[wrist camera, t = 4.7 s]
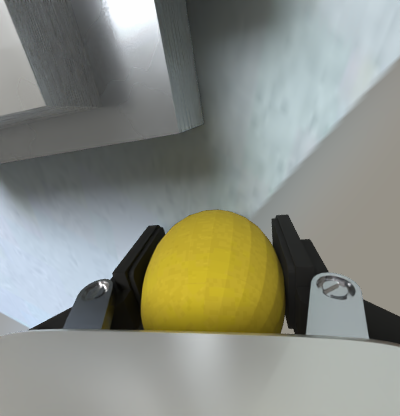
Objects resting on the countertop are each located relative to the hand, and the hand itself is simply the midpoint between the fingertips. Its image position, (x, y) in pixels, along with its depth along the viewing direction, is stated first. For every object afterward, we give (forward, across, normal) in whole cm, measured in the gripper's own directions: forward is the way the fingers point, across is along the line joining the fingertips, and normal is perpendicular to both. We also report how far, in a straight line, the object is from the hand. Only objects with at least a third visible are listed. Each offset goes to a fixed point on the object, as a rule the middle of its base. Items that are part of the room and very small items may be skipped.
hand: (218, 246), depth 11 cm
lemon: (+2, 0, 0) cm, 2 cm away
